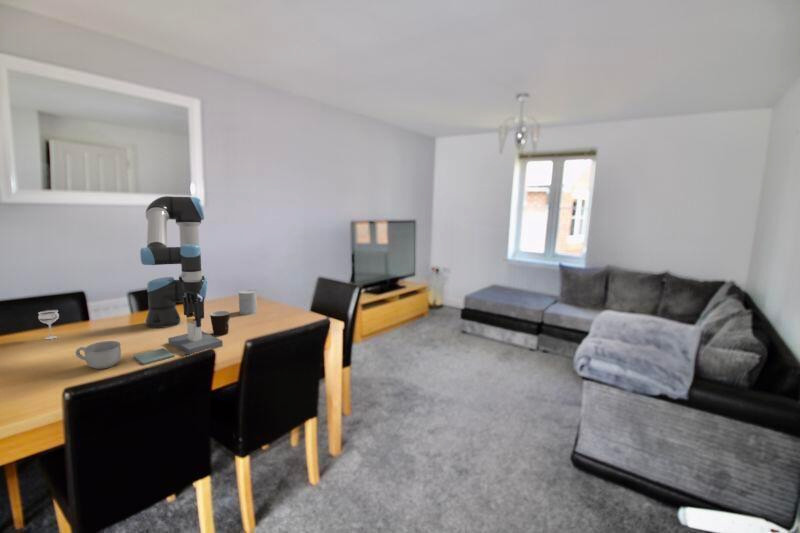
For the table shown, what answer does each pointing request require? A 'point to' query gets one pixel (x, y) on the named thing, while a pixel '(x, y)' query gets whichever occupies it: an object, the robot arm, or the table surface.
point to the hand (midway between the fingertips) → (194, 332)
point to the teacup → (101, 354)
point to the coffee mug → (220, 322)
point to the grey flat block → (194, 343)
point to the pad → (153, 356)
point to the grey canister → (247, 302)
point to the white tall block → (190, 326)
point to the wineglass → (49, 319)
